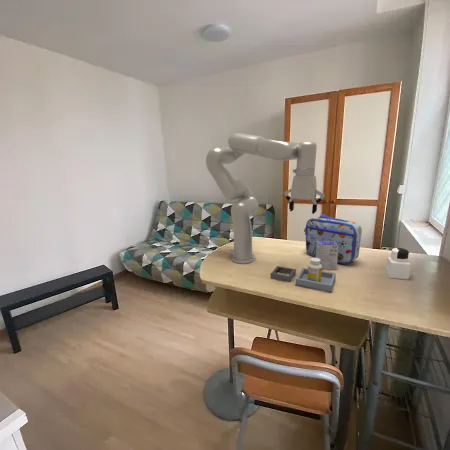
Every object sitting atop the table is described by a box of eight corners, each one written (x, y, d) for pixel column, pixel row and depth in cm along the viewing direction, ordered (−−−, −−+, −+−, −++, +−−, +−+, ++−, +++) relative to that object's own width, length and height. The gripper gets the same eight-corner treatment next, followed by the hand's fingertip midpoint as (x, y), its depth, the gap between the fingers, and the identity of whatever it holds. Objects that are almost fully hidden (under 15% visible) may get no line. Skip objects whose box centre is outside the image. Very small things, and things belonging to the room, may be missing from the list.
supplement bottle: (310, 284, 108) (311, 262, 105) (305, 278, 113) (306, 257, 111) (323, 282, 108) (324, 261, 106) (317, 277, 113) (318, 256, 111)
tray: (295, 285, 109) (295, 278, 108) (302, 273, 119) (302, 267, 118) (331, 292, 102) (331, 285, 101) (335, 279, 112) (335, 273, 111)
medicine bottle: (404, 272, 116) (407, 247, 113) (409, 279, 109) (413, 253, 106) (385, 270, 118) (388, 245, 115) (389, 278, 112) (392, 251, 108)
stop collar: (270, 278, 116) (270, 273, 115) (276, 270, 123) (276, 265, 123) (290, 282, 111) (290, 277, 111) (295, 274, 119) (296, 269, 118)
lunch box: (300, 254, 142) (301, 214, 136) (310, 249, 148) (312, 211, 143) (352, 268, 122) (356, 223, 116) (361, 261, 129) (365, 218, 123)
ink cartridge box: (335, 264, 127) (337, 236, 123) (337, 269, 122) (339, 240, 118) (313, 264, 129) (315, 236, 125) (315, 268, 124) (316, 239, 120)
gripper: (282, 172, 112) (280, 211, 117) (324, 174, 103) (320, 216, 108) (288, 171, 118) (286, 208, 123) (328, 172, 110) (324, 212, 114)
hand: (302, 211), depth 116 cm, fingers open, 9 cm apart
